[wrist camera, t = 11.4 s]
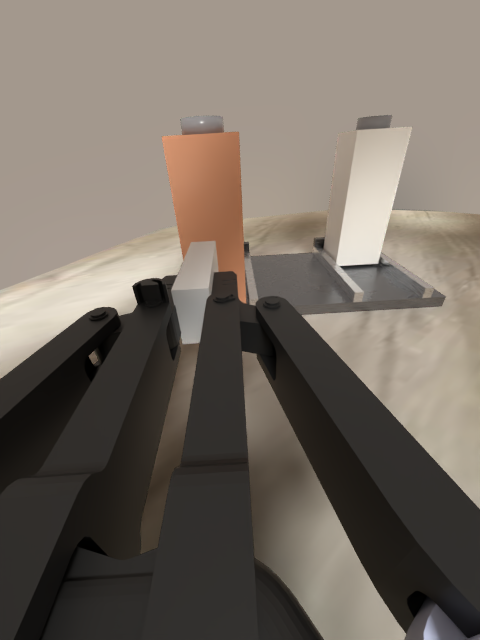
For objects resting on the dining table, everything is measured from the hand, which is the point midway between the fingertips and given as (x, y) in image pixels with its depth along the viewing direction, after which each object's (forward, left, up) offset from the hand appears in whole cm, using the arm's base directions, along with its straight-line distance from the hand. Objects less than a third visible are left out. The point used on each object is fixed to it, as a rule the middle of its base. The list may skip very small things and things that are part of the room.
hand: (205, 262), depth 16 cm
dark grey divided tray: (-8, -12, -7) cm, 16 cm away
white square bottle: (-16, -15, -6) cm, 23 cm away
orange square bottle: (0, -7, -6) cm, 10 cm away
